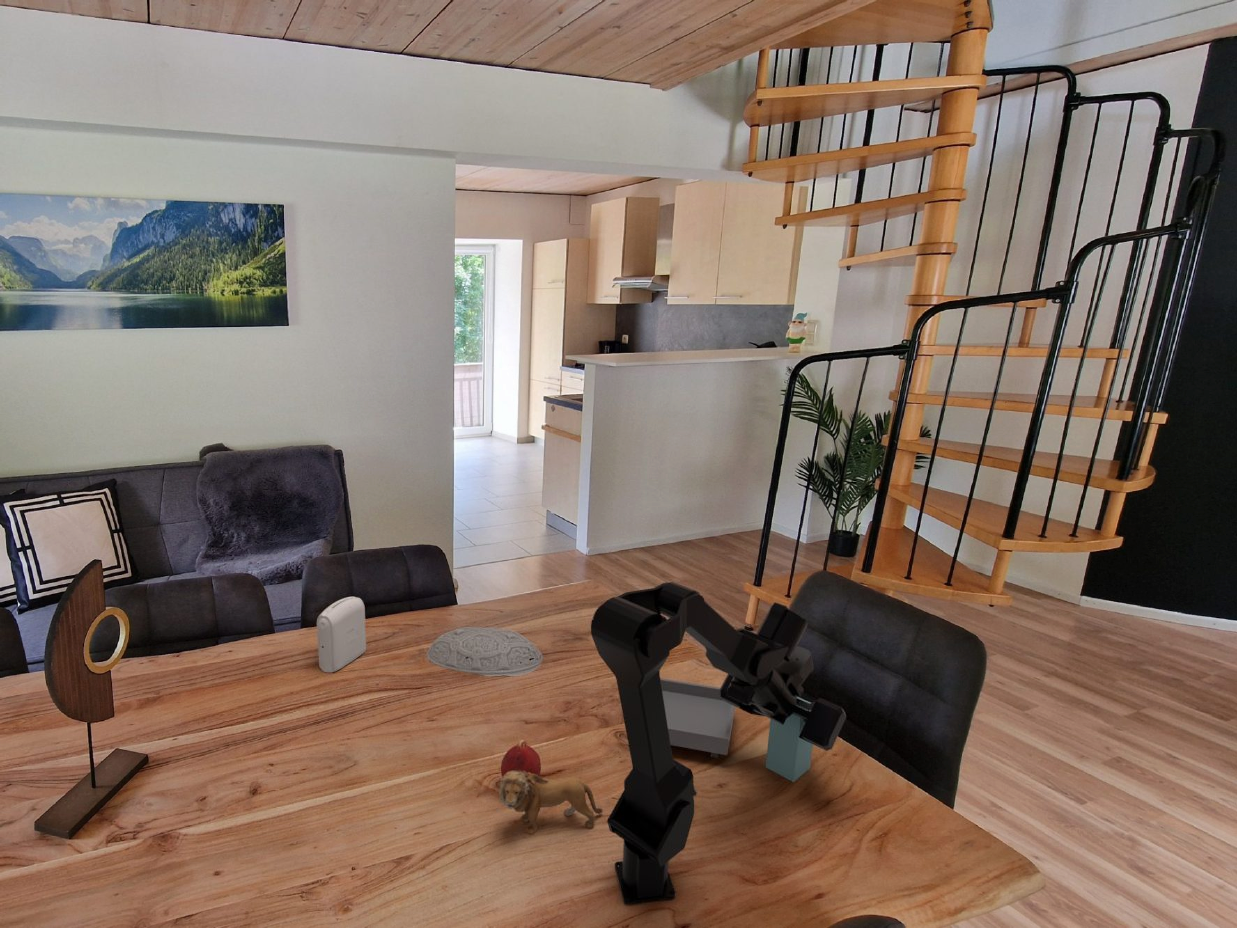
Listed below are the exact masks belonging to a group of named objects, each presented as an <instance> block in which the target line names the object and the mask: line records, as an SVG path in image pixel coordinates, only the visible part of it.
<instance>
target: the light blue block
mask: <svg viewBox="0 0 1237 928" xmlns="http://www.w3.org/2000/svg"><path fill="white" fill-rule="evenodd" d="M797 698H798V699H801V700H803V701H805V702H807V703H811V702H810V701H808V700H805V699H803V698H801V697H799V696H797ZM797 706H798V705H797ZM798 707H800V706H798ZM800 708H801V707H800ZM802 709H803V707H802ZM804 709H805V708H804ZM807 711H808V710H807ZM809 711H811V710H809ZM769 720H770V721H769V730H768V737H767V738H768V741H767V748H766V749H767V752H766V761H765V768H766V769H768V770H770V771H771V772H774V773H775V774H777V775H780V776H781V777H783V778H785V779H786V780H789V781H790V782H792V783H795V782H796V781H797V780H798V779H799V778H800V777H802V776H803V775H804V774H805V773H806V772H808V770H810V769H811V763H812V753H813V746H814V745H813V744H811V743H809V742H807V741H805V740H803V739H801V738H799V735H800V733H801V731H802V729H803V727H804V725H805V724H804V723H803V720H804V719H803V718H801V717H798V716H796V715H794V714H792V715H791V716H789V717H788V718H787V719H786V720H785V722H784V724H783V725H782V724H780V723H778V722H776V721H774V720H772V719H770V718H769Z"/></svg>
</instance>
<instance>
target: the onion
mask: <svg viewBox="0 0 1237 928" xmlns="http://www.w3.org/2000/svg"><path fill="white" fill-rule="evenodd" d="M500 765H501V766H500V773H501V774H500V775H501V778H502V777H503V776H504V775H505V774H506V773H507V772H509V771H513V770H514V771H516V770H521V771H526V772H527V773H528V772H530V773H531V774H536V775H538V776H540V775H541V771H542V766H541V765H542V763H541V758H540V755H539V754H538V752H537V751H536V750H535V749H534V748H533V747H532V746H530V745H527V740H525V739H521V740H520V739H519V741H518V743H517V744H516V745H515V746H513V747H511V748H510V749H508V750H507V752H506V753H505V754H504V756H503V757H502V761H501V764H500Z"/></svg>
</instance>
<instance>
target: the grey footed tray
mask: <svg viewBox="0 0 1237 928" xmlns="http://www.w3.org/2000/svg"><path fill="white" fill-rule="evenodd" d="M660 680H661V687H662V693H663V700H664V706H665V712H666V719H667V725H668V732H669V738H670V745H671V746H673V747H680V748H686V749H690V750H698V751H702V752H707V753H710V757H711V758H715V759H716V758H719V757H718V755H724V756H728V755H729V754H728V753H729V749H730V741H731V736H732V729H733V722H734V716H735V710H736V707H735V706H733V705H731V704H729V703H727V702H725V701H724V700H723V699H722V698H721V696H720V688H721V687H718V686H712V685H705V684H700V683H694V682H693V683H692V682H687V681H682V680H681V681H680V680H674V679H668V678H663V677H662V678H661V677H660Z"/></svg>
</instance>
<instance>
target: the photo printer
mask: <svg viewBox="0 0 1237 928" xmlns="http://www.w3.org/2000/svg"><path fill="white" fill-rule="evenodd" d="M366 629H367V628H366V609H365V604H364V601H363V600H362V599H361V598H360V597H356V596H348V597H344V598H341V599H339V600H337V601H335V602H333V603H332V604H330V605H329V606H328V607H326V608H325V609H324V610H323V611H322V612H321V613H320V614H319V616H318V617H317V619H316V631H317V632H316V633H317V651H318V652H317V653H318V666H319V668H320V669H321V671H322V672H324V673H330V674H332V673H334V672H338V671H339V670H341V669H342V668H344V667H345V666H347V665H348V664H350V663H352V662H353V661H355V660H357V658H359V657H360V656H362V655H364V653H365V652H366V650H367V635H366V634H367V633H366V632H367V631H366Z"/></svg>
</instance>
